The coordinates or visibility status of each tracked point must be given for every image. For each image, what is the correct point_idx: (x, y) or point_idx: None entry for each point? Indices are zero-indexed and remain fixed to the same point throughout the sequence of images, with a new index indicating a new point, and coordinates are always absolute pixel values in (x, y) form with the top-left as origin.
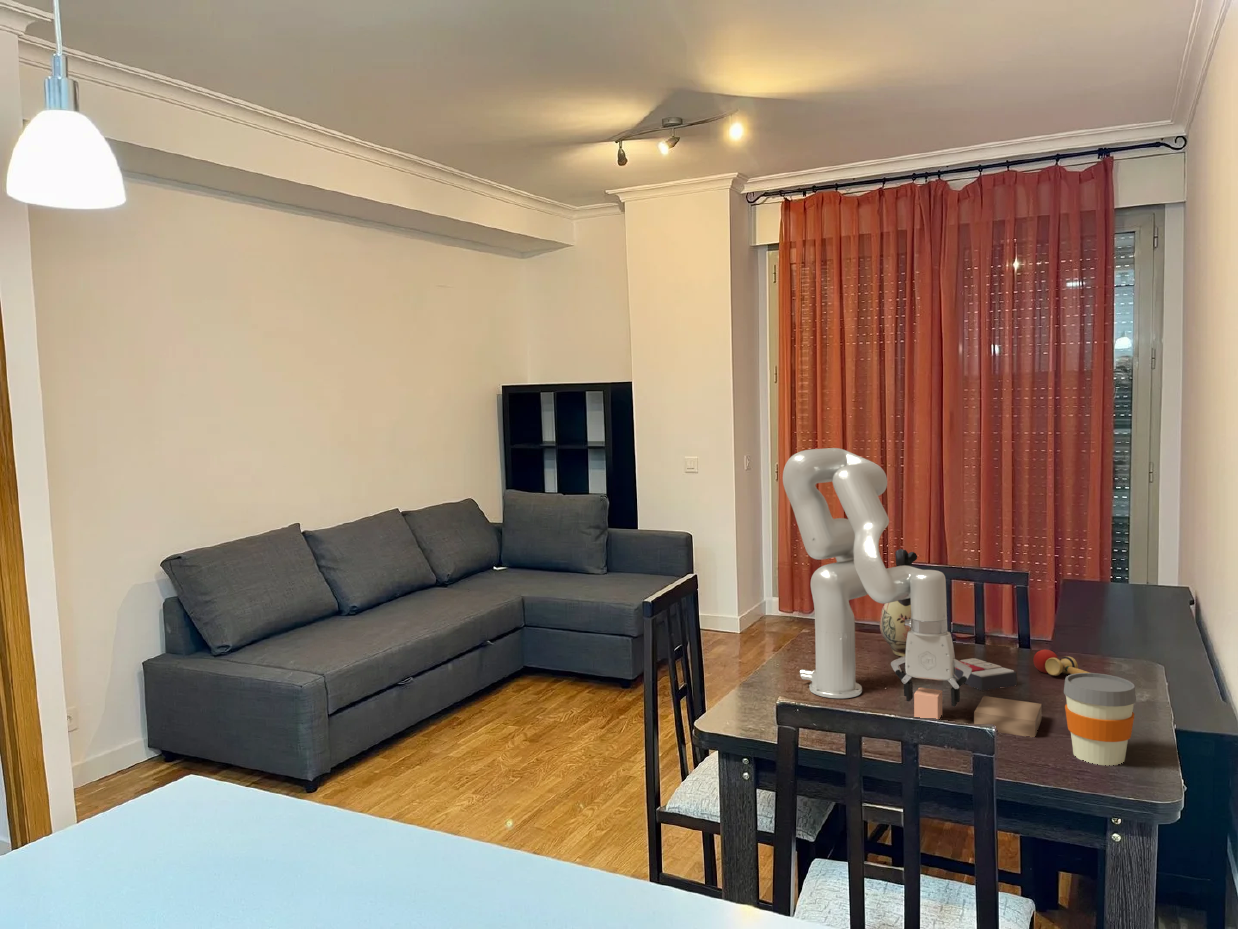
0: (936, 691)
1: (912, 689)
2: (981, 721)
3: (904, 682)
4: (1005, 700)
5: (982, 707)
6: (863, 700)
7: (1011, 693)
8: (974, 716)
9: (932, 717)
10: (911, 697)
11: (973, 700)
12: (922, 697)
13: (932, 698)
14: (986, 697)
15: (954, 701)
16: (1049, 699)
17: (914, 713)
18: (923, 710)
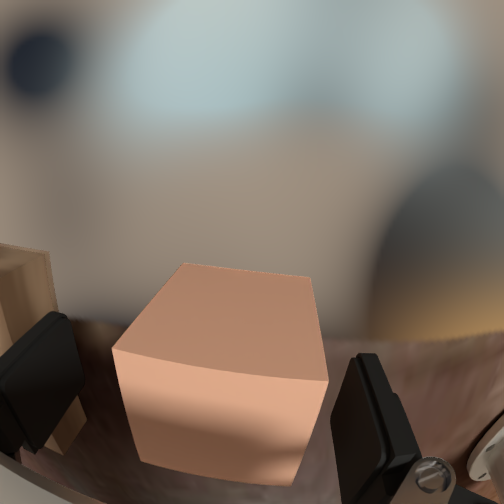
0: (164, 449)
1: (337, 459)
2: (2, 261)
3: (425, 469)
4: None
5: (3, 349)
6: (486, 406)
7: (99, 497)
8: (8, 272)
9: (202, 278)
10: (341, 402)
11: (144, 480)
12: (249, 358)
13: (159, 347)
14: (50, 443)
15: (33, 326)
16: (38, 466)
17: (311, 293)
18: (252, 301)
